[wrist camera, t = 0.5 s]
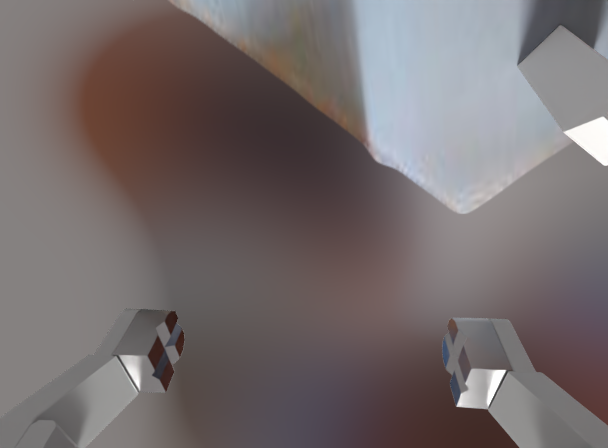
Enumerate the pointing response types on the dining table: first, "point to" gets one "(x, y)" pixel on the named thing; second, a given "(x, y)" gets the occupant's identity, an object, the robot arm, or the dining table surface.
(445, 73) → the dining table surface
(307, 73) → the dining table surface
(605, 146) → the milk
